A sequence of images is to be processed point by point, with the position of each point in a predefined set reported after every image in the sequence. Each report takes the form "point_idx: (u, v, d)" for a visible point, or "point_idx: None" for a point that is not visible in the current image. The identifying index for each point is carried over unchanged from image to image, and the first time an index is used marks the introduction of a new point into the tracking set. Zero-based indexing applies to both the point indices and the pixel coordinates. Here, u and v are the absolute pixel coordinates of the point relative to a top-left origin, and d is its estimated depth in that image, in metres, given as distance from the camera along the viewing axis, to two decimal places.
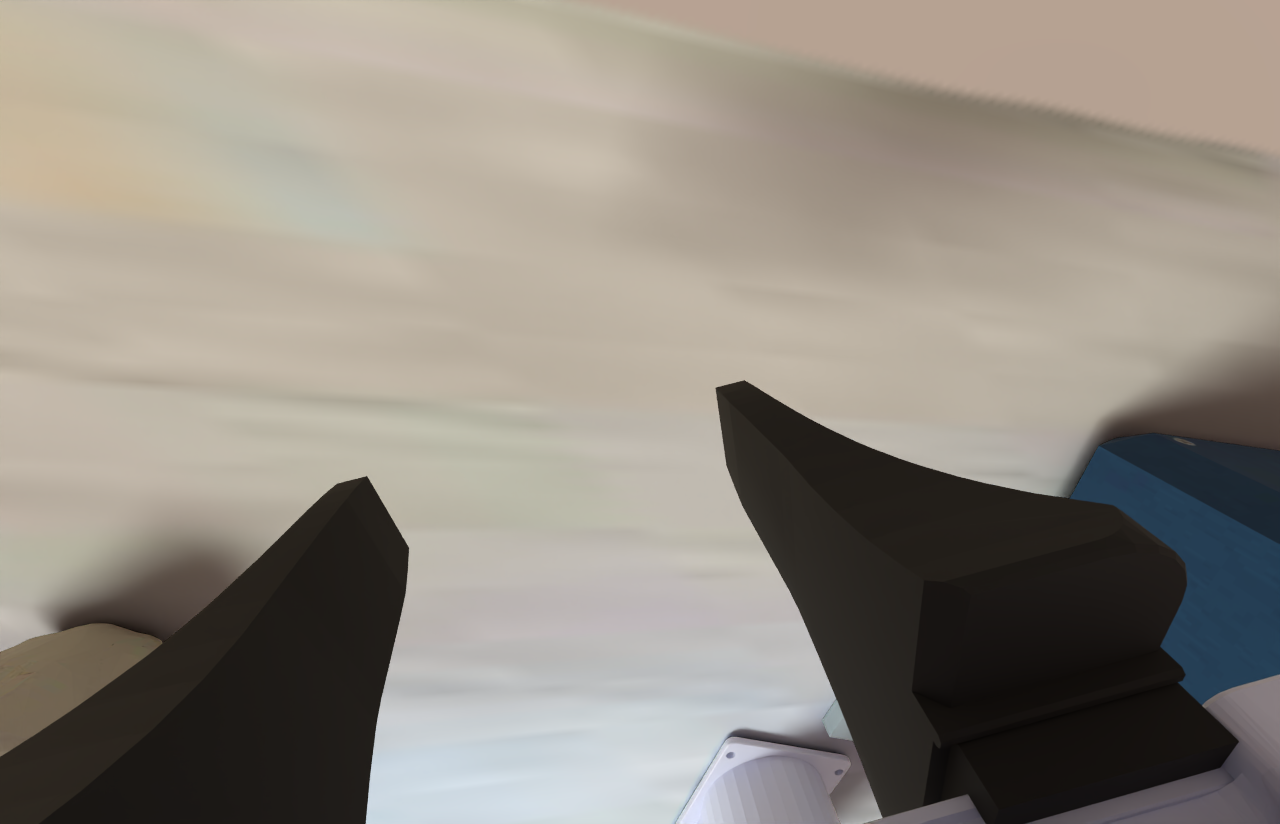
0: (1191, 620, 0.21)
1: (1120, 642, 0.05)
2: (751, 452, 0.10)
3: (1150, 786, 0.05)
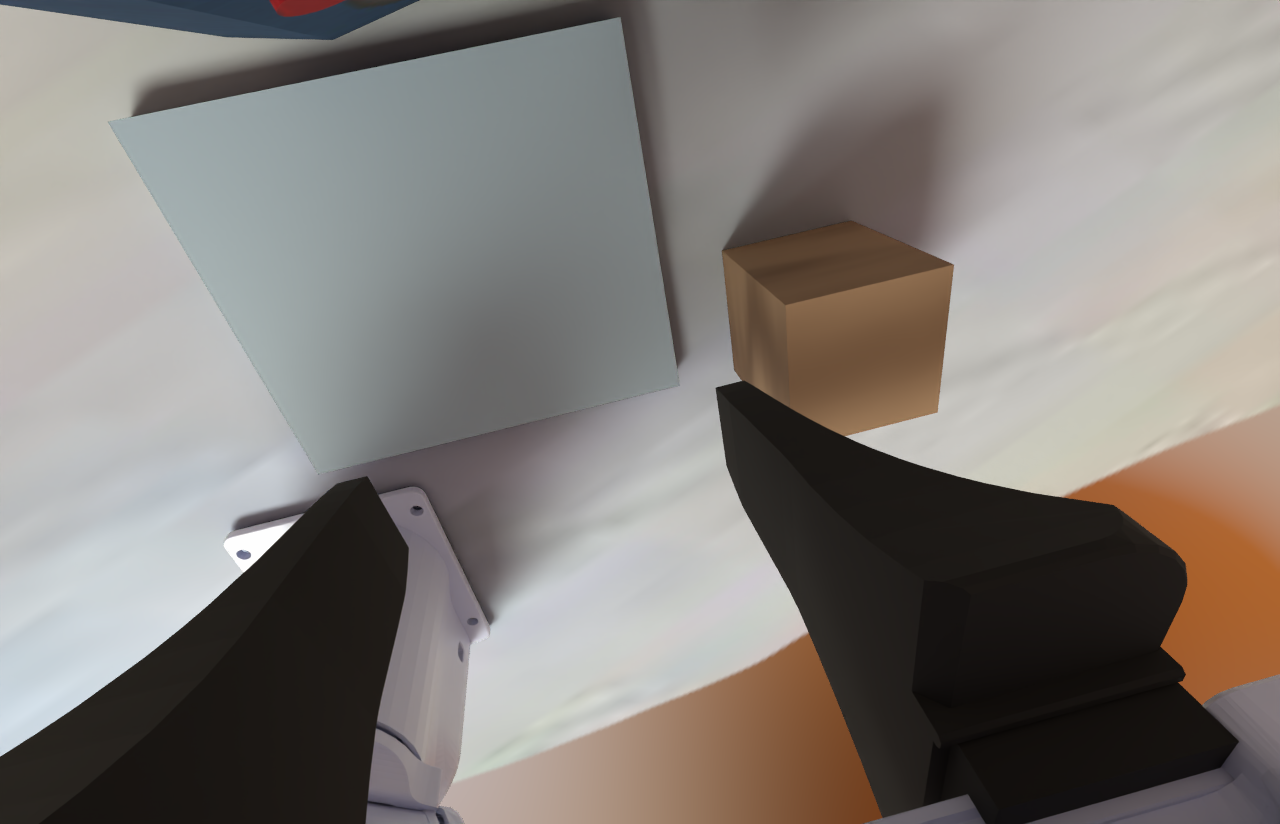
0: None
1: (1121, 642, 0.05)
2: (751, 452, 0.10)
3: (1151, 786, 0.05)
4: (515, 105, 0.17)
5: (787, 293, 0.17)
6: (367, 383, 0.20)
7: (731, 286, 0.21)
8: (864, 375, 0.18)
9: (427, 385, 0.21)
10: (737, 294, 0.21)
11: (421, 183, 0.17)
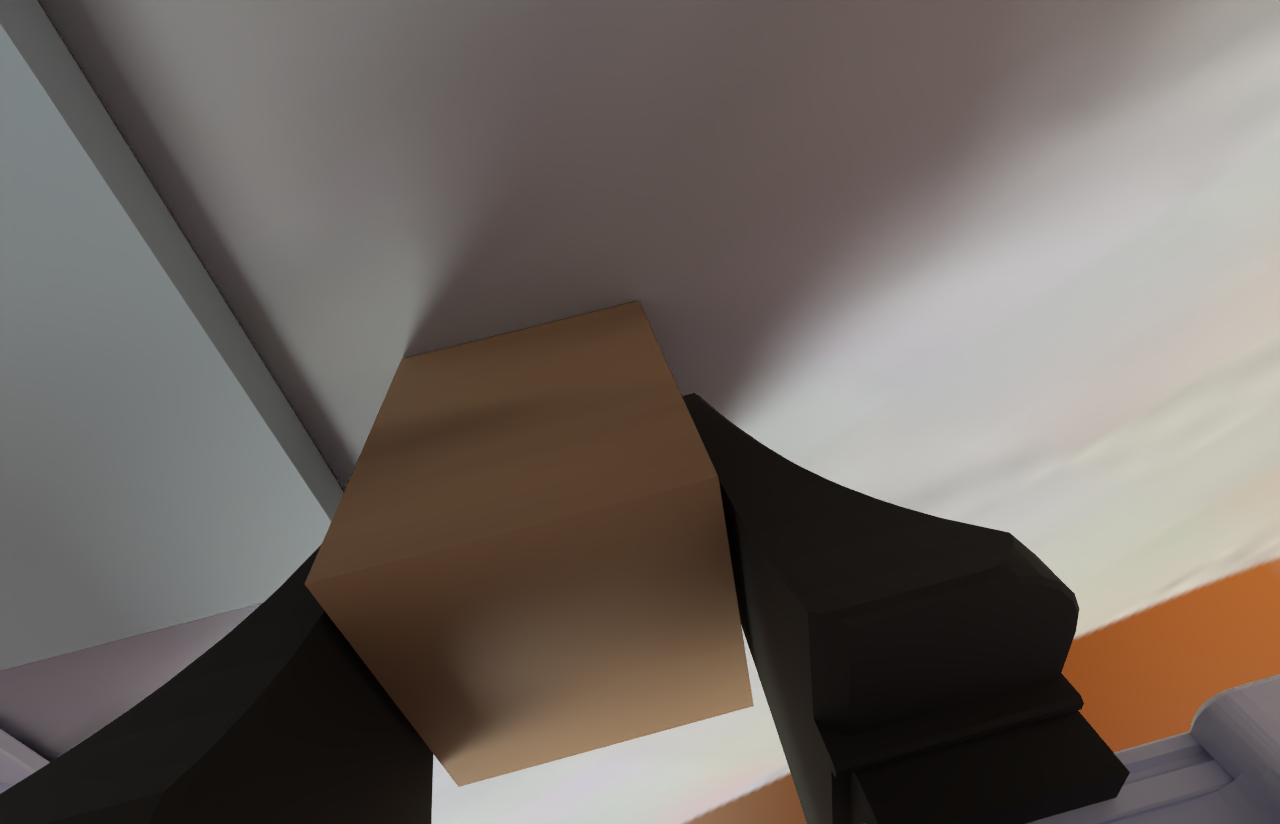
0: None
1: (1017, 670, 0.05)
2: None
3: (1046, 816, 0.05)
4: None
5: (352, 529, 0.07)
6: None
7: None
8: (570, 673, 0.08)
9: None
10: None
11: None
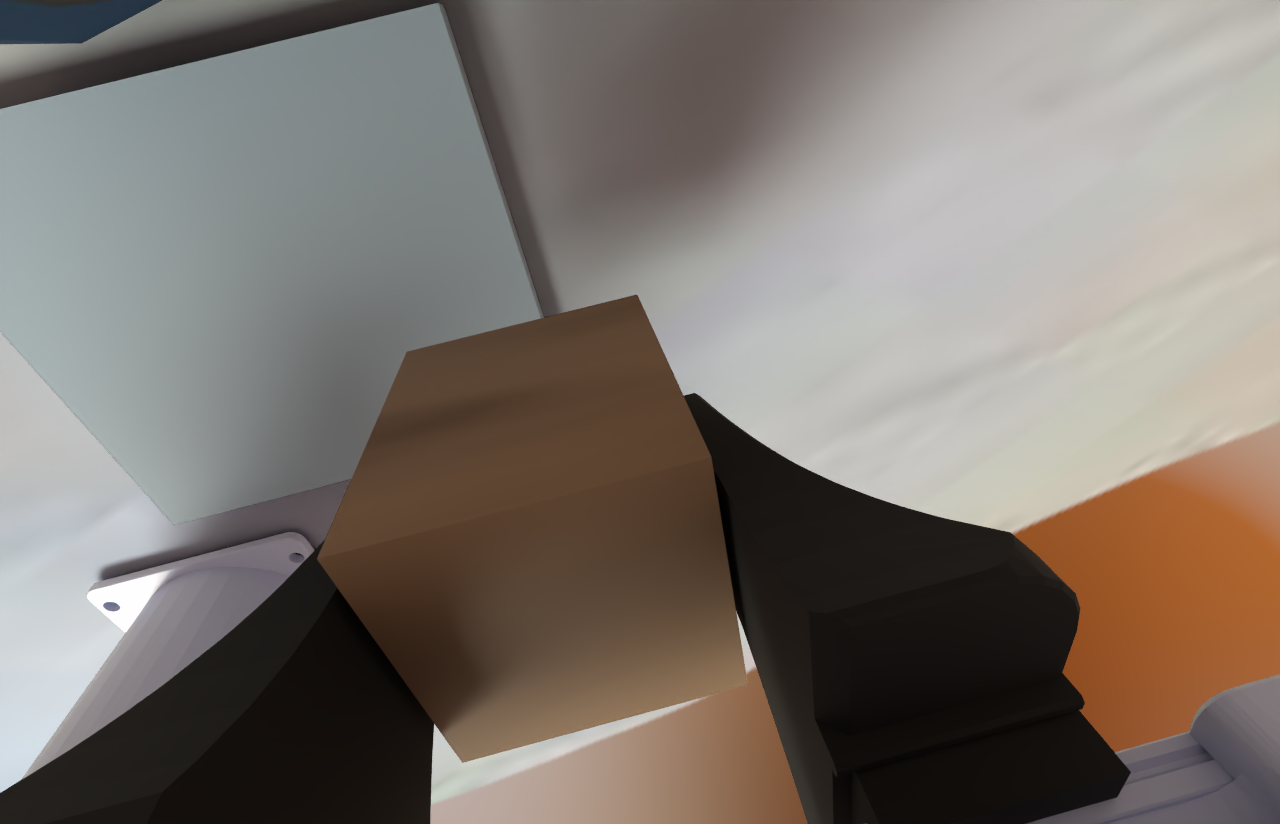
0: None
1: (1019, 670, 0.05)
2: None
3: (1047, 816, 0.05)
4: (326, 113, 0.14)
5: (362, 509, 0.08)
6: (209, 428, 0.18)
7: None
8: (570, 650, 0.09)
9: (279, 429, 0.18)
10: None
11: (228, 207, 0.15)
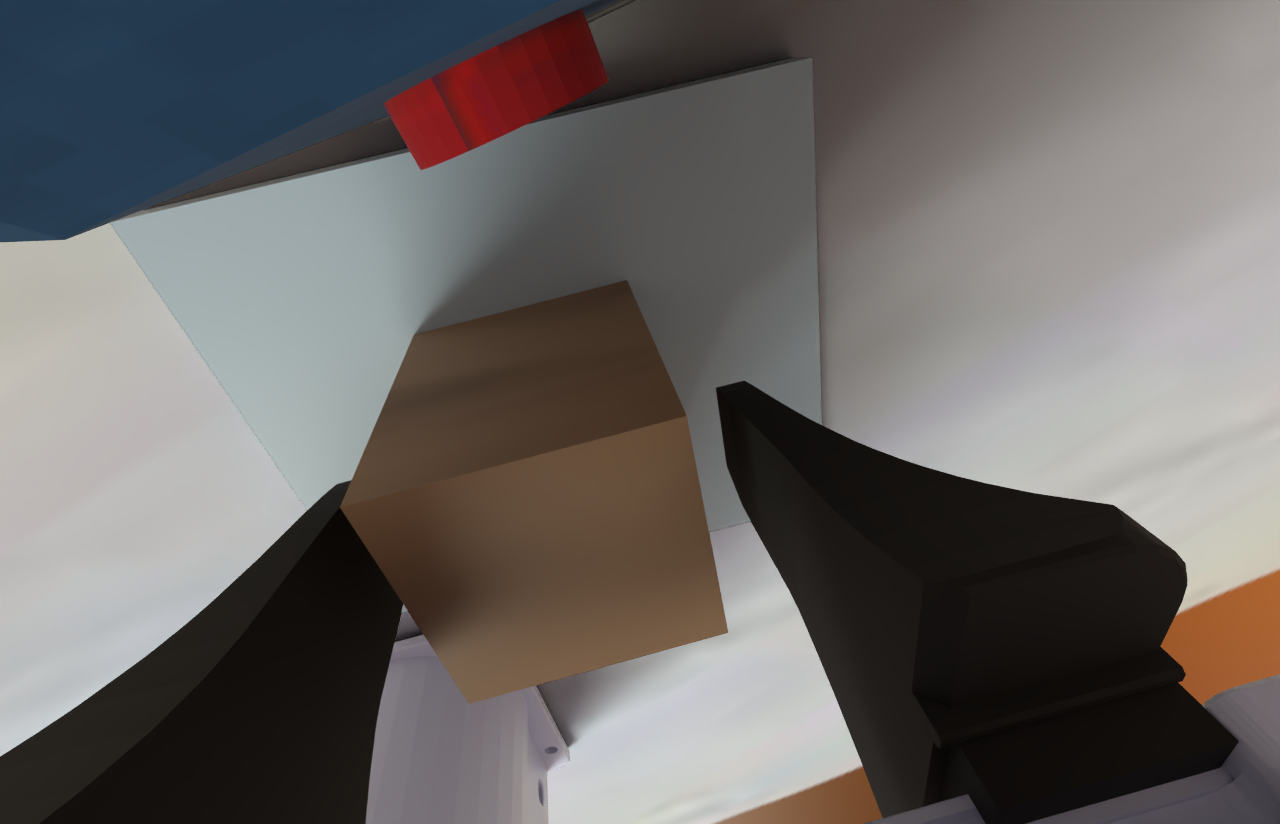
0: None
1: (1121, 642, 0.05)
2: (751, 452, 0.10)
3: (1151, 786, 0.05)
4: (658, 180, 0.12)
5: (378, 467, 0.09)
6: None
7: None
8: (565, 597, 0.10)
9: None
10: None
11: (526, 283, 0.13)
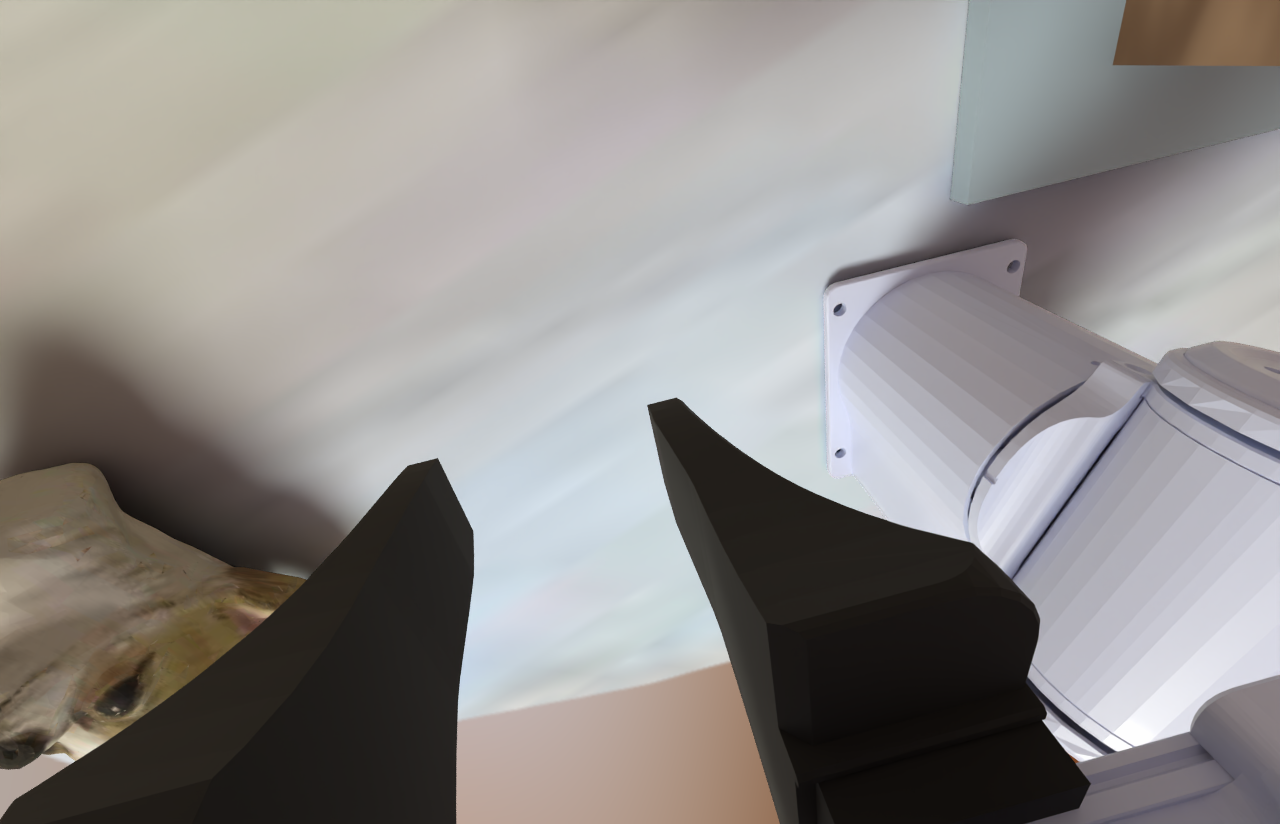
0: None
1: (981, 680, 0.05)
2: (673, 472, 0.10)
3: None
4: None
5: None
6: (1070, 86, 0.19)
7: None
8: None
9: (1120, 93, 0.19)
10: None
11: None
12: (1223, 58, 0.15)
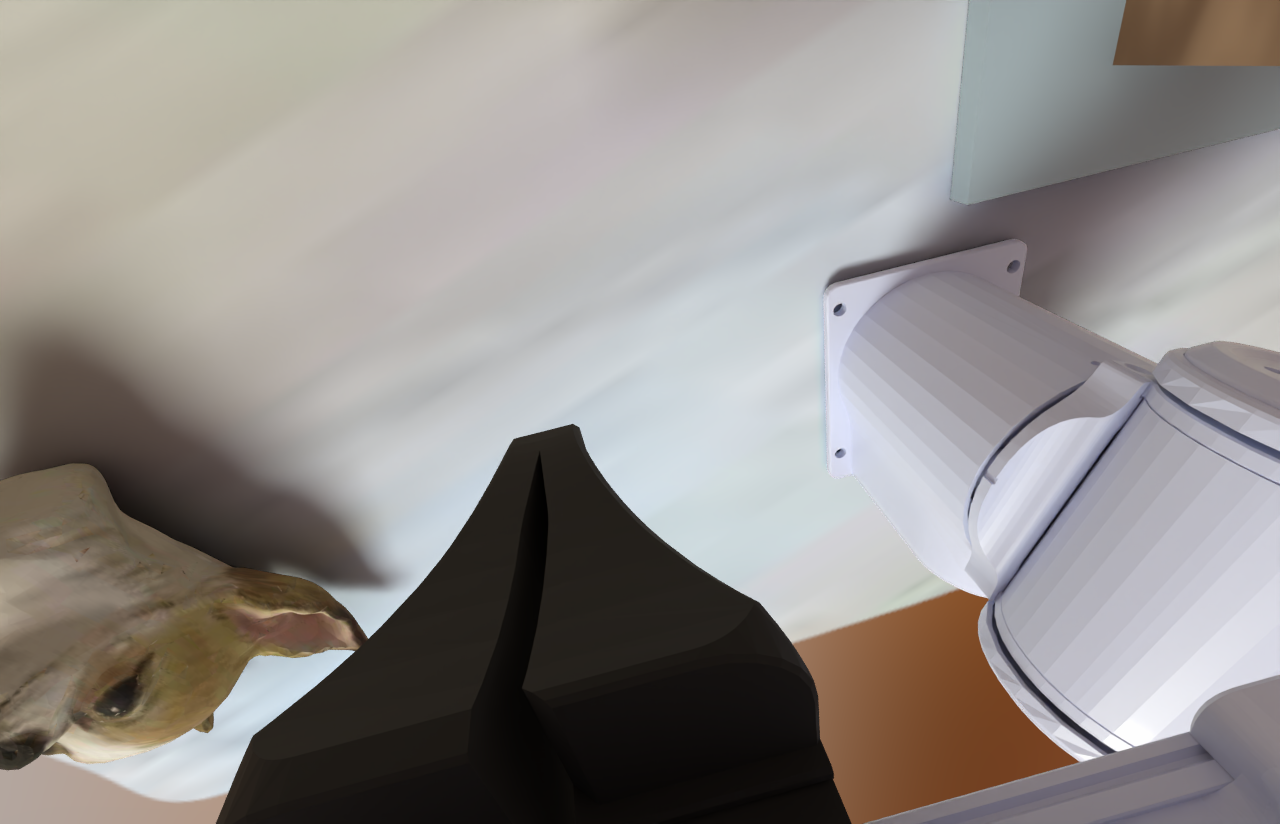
0: None
1: (766, 740, 0.05)
2: None
3: None
4: None
5: None
6: (1070, 86, 0.19)
7: None
8: None
9: (1120, 93, 0.19)
10: None
11: None
12: (1223, 58, 0.15)
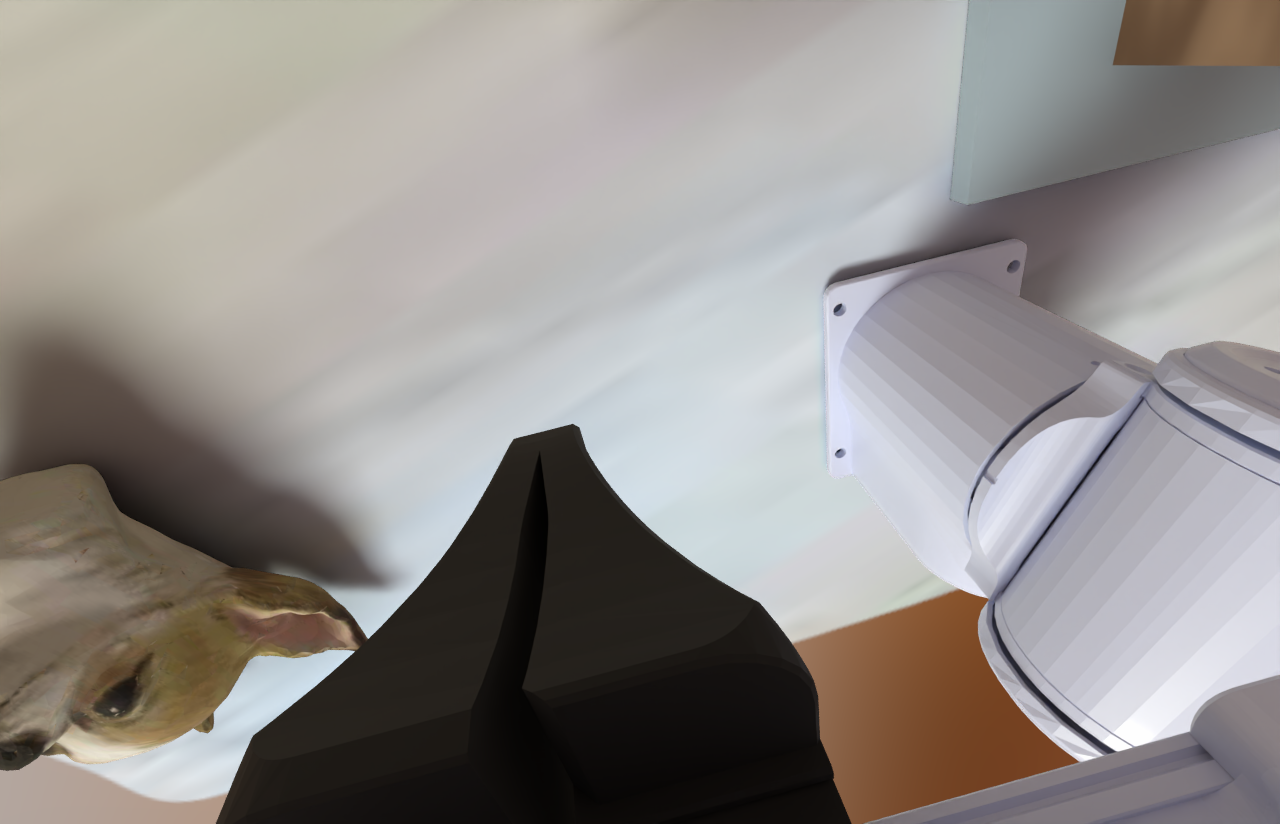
0: None
1: (766, 740, 0.05)
2: None
3: None
4: None
5: None
6: (1070, 86, 0.19)
7: None
8: None
9: (1120, 93, 0.19)
10: None
11: None
12: (1223, 58, 0.15)
